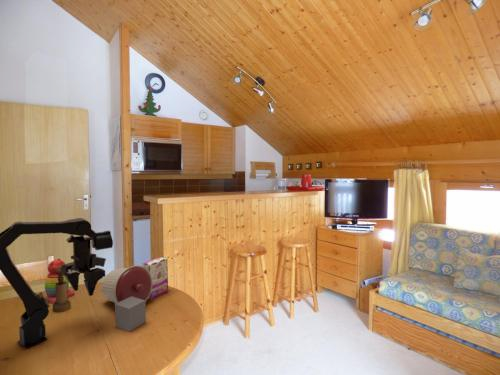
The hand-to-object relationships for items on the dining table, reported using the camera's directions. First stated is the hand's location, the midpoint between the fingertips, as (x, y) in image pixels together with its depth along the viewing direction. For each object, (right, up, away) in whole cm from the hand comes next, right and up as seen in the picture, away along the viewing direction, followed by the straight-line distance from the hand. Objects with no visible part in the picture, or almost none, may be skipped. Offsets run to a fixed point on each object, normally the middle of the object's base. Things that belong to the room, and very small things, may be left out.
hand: (83, 293), depth 115 cm
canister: (0, -5, +25) cm, 26 cm away
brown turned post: (-17, -12, +15) cm, 26 cm away
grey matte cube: (+17, -13, +2) cm, 21 cm away
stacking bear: (-25, -11, +25) cm, 38 cm away
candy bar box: (+18, -11, +30) cm, 37 cm away
